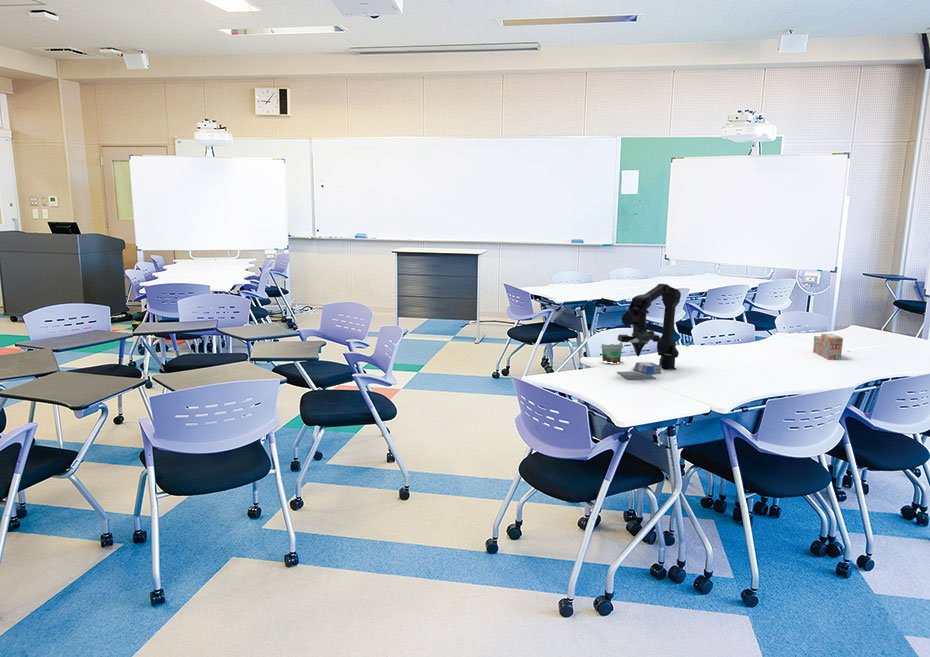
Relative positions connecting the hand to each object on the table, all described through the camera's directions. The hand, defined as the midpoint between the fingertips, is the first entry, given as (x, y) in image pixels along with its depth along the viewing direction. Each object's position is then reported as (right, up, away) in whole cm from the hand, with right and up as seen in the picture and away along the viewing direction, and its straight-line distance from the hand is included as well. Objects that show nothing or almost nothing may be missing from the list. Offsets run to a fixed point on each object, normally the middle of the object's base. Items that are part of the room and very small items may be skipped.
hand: (637, 356), depth 304 cm
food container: (-5, -5, +28) cm, 29 cm away
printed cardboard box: (+116, -2, +48) cm, 126 cm away
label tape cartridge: (+9, -7, +5) cm, 12 cm away
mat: (0, -9, +2) cm, 10 cm away
